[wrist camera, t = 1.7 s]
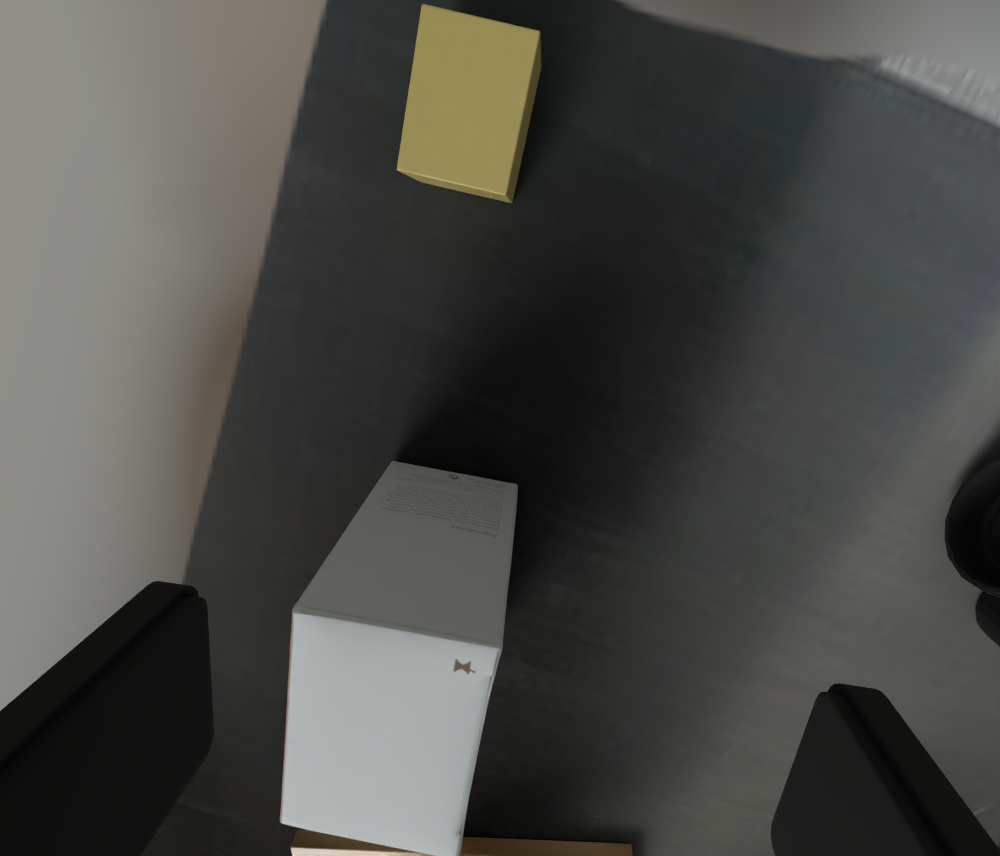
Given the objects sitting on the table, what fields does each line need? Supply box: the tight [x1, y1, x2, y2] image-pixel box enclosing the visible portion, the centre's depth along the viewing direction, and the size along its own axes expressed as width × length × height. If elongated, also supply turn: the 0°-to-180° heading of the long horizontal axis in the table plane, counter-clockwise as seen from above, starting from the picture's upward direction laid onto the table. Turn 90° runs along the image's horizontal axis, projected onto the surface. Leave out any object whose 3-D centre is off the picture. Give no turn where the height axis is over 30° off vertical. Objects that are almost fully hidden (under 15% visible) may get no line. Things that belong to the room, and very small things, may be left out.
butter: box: [397, 4, 541, 203], centre depth 19 cm, size 4×4×4 cm
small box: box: [280, 461, 518, 856], centre depth 21 cm, size 8×6×10 cm
